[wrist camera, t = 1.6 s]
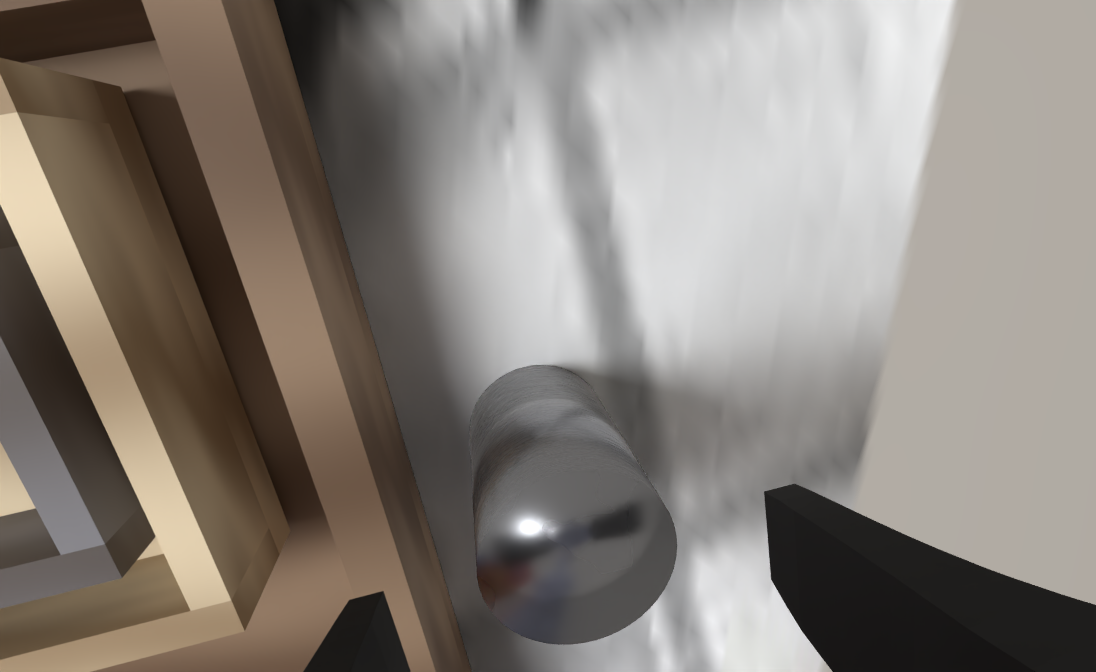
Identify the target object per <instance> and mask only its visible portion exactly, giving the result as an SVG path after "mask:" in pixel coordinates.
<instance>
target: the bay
mask: <svg viewBox="0 0 1096 672" xmlns="http://www.w3.org/2000/svg"><path fill="white" fill-rule="evenodd" d="M0 58H4V59H8V60H12V61H16V62H20V63H24V64H29V65H33V66H37V67H41V68H45V69H49V70H54V71H58V72H62V73H66V74H70V75H74V76H79V77H83V78H87V79H91V80H95V81H99V82H104V83H108V84H112V85H116V86H120V87H121V88H122V91H123V94H124V96H125V99H126V102H127V104H128V107H129V109H130V112H131V115H132V117H133V120H134V122H135V125H136V128H137V130H138V133H139V136H140V138H141V141H142V143H143V146H144V149H145V151H146V154H147V156H148V159H149V162H150V164H151V167H152V170H153V172H154V175H155V177H156V180H157V183H158V185H159V188H160V190H161V193H162V196H163V198H164V201H165V204H166V206H167V209H168V211H169V214H170V217H171V219H172V222H173V224H174V227H175V230H176V232H177V235H178V238H179V240H180V243H181V245H182V248H183V251H184V253H185V256H186V258H187V261H188V264H189V266H190V269H191V272H192V274H193V277H194V279H195V282H196V285H197V287H198V290H199V292H200V295H201V298H202V300H203V303H204V306H205V308H206V311H207V313H208V316H209V319H210V321H211V324H212V326H213V329H214V332H215V334H216V337H217V340H218V342H219V345H220V347H221V350H222V353H223V355H224V358H225V360H226V363H227V366H228V368H229V371H230V374H231V376H232V379H233V381H234V384H235V387H236V389H237V392H238V394H239V397H240V400H241V402H242V405H243V408H244V410H245V413H246V415H247V418H248V421H249V423H250V426H251V429H252V431H253V434H254V436H255V439H256V442H257V444H258V447H259V449H260V452H261V455H262V457H263V460H264V463H265V465H266V468H267V470H268V473H269V476H270V478H271V481H272V483H273V486H274V489H275V491H276V494H277V497H278V499H279V502H280V504H281V507H282V510H283V512H284V515H285V517H286V520H287V523H288V525H289V528H290V533H289V535H288V537H287V539H286V542H285V544H284V546H283V548H282V550H281V553H280V555H279V557H278V559H277V561H276V564H275V566H274V568H273V570H272V572H271V575H270V577H269V579H268V581H267V583H266V586H265V588H264V590H263V592H262V595H261V597H260V599H259V601H258V603H257V606H256V608H255V610H254V612H253V614H252V617H251V619H250V621H249V623H248V625H247V628H246V630H245V631H244V632H240V633H237V634H233V635H229V636H225V637H221V638H218V639H214V640H210V641H206V642H202V643H199V644H195V645H191V646H187V647H183V648H179V649H176V650H172V651H168V652H164V653H160V654H157V655H153V656H149V657H145V658H141V659H138V660H134V661H130V662H126V663H122V664H118V665H115V666H111V667H107V668H103V669H99V670H96V671H92V672H303V671H304V669H305V668H306V666H307V665H308V663H309V662H310V660H311V658H312V657H313V655H314V654H315V652H316V651H317V649H318V647H319V646H320V644H321V643H322V641H323V640H324V638H325V636H326V635H327V633H328V632H329V630H330V628H331V627H332V625H333V624H334V622H335V621H336V619H337V617H338V616H339V614H340V613H341V611H342V610H343V608H344V607H345V605H346V604H347V602H348V601H349V600H350V599H354V598H358V597H362V596H366V595H370V594H373V593H377V592H381V591H384V594H385V597H386V600H387V603H388V606H389V609H390V612H391V615H392V618H393V621H394V624H395V626H396V629H397V632H398V635H399V638H400V641H401V644H402V647H403V650H404V653H405V656H406V659H407V662H408V665H409V668H410V671H411V672H472V671H471V668H470V664H469V661H468V657H467V654H466V651H465V647H464V644H463V640H462V637H461V634H460V630H459V627H458V624H457V620H456V617H455V613H454V610H453V607H452V603H451V600H450V596H449V593H448V590H447V586H446V583H445V579H444V576H443V573H442V569H441V566H440V562H439V559H438V556H437V552H436V549H435V545H434V542H433V539H432V535H431V532H430V529H429V525H428V522H427V518H426V515H425V512H424V508H423V505H422V501H421V498H420V495H419V491H418V488H417V484H416V481H415V478H414V474H413V471H412V467H411V464H410V461H409V457H408V454H407V451H406V447H405V444H404V440H403V437H402V434H401V430H400V427H399V423H398V420H397V417H396V413H395V410H394V406H393V403H392V400H391V396H390V393H389V389H388V386H387V383H386V379H385V376H384V372H383V369H382V366H381V362H380V359H379V356H378V352H377V349H376V345H375V342H374V339H373V335H372V332H371V328H370V325H369V322H368V318H367V315H366V311H365V308H364V305H363V301H362V298H361V294H360V291H359V288H358V284H357V281H356V278H355V274H354V271H353V267H352V264H351V261H350V257H349V254H348V250H347V247H346V244H345V240H344V237H343V233H342V230H341V227H340V223H339V220H338V216H337V213H336V210H335V206H334V203H333V199H332V196H331V193H330V189H329V186H328V183H327V179H326V176H325V172H324V169H323V166H322V162H321V159H320V155H319V152H318V149H317V145H316V142H315V138H314V135H313V132H312V128H311V125H310V121H309V118H308V115H307V111H306V108H305V105H304V101H303V98H302V94H301V91H300V88H299V84H298V81H297V77H296V74H295V71H294V67H293V64H292V60H291V57H290V54H289V50H288V47H287V43H286V40H285V37H284V33H283V30H282V26H281V23H280V20H279V16H278V13H277V10H276V6H275V3H274V0H0Z"/></svg>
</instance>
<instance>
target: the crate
mask: <svg viewBox="0 0 1096 672" xmlns="http://www.w3.org/2000/svg"><path fill="white" fill-rule="evenodd" d="M289 533H290V528H289V525H288V523H287V520H286V517H285V515H284V512H283V510H282V507H281V504H280V502H279V499H278V497H277V494H276V491H275V489H274V486H273V483H272V481H271V478H270V476H269V473H268V470H267V468H266V465H265V463H264V460H263V457H262V455H261V452H260V449H259V447H258V444H257V442H256V439H255V436H254V434H253V431H252V429H251V426H250V423H249V421H248V418H247V415H246V413H245V410H244V408H243V405H242V402H241V400H240V397H239V394H238V392H237V389H236V387H235V384H234V381H233V379H232V376H231V374H230V371H229V368H228V366H227V363H226V360H225V358H224V355H223V353H222V350H221V347H220V345H219V342H218V340H217V337H216V334H215V332H214V329H213V326H212V324H211V321H210V319H209V316H208V313H207V311H206V308H205V306H204V303H203V300H202V298H201V295H200V292H199V290H198V287H197V285H196V282H195V279H194V277H193V274H192V272H191V269H190V266H189V264H188V261H187V258H186V256H185V253H184V251H183V248H182V245H181V243H180V240H179V238H178V235H177V232H176V230H175V227H174V224H173V222H172V219H171V217H170V214H169V211H168V209H167V206H166V204H165V201H164V198H163V196H162V193H161V190H160V188H159V185H158V183H157V180H156V177H155V175H154V172H153V170H152V167H151V164H150V162H149V159H148V156H147V154H146V151H145V149H144V146H143V143H142V141H141V138H140V136H139V133H138V130H137V128H136V125H135V122H134V120H133V117H132V115H131V112H130V109H129V107H128V104H127V102H126V99H125V96H124V94H123V91H122V88H121V87H120V86H116V85H112V84H108V83H104V82H99V81H95V80H91V79H87V78H83V77H79V76H74V75H70V74H66V73H62V72H58V71H54V70H49V69H45V68H41V67H37V66H33V65H29V64H24V63H20V62H16V61H12V60H8V59H4V58H0V672H92V671H96V670H99V669H103V668H107V667H111V666H115V665H118V664H122V663H126V662H130V661H134V660H138V659H141V658H145V657H149V656H153V655H157V654H160V653H164V652H168V651H172V650H176V649H179V648H183V647H187V646H191V645H195V644H199V643H202V642H206V641H210V640H214V639H218V638H221V637H225V636H229V635H233V634H237V633H240V632H244V631H245V630H246V628H247V625H248V623H249V621H250V619H251V617H252V614H253V612H254V610H255V608H256V606H257V603H258V601H259V599H260V597H261V595H262V592H263V590H264V588H265V586H266V583H267V581H268V579H269V577H270V575H271V572H272V570H273V568H274V566H275V564H276V561H277V559H278V557H279V555H280V553H281V550H282V548H283V546H284V544H285V542H286V539H287V537H288V535H289Z"/></svg>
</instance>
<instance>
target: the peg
mask: <svg viewBox="0 0 1096 672" xmlns="http://www.w3.org/2000/svg"><path fill="white" fill-rule="evenodd" d="M469 433H470V453H471V472H472V491H473V510H474V528H475V547H476V566H477V579H478V584H479V588H480V591H481V594H482V597H483V599H484V601H485V603H486V604H487V606H488V608H489V609H490V611H491V612H492V613H493V614H494V616H495V617H496V618H497V619H498V620H499V621H500V622H501V623H503V624H504V625H505V626H506V627H508V628H509V629H511V630H512V631H514V632H516V633H518V634H520V635H521V636H523V637H526V638H529V639H532V640H535V641H539V642H543V643H550V644H578V643H585V642H590V641H594V640H598V639H600V638H603V637H606V636H609V635H611V634H613V633H616V632H618V631H620V630H621V629H623V628H625V627H627V626H628V625H630V624H631V623H633V622H634V621H635V620H637V619H638V618H640V617H641V616H642V615H643V614H644V613H645V612H646V611H647V610H648V609H649V608H650V607H651V606H652V605H653V604H654V603H655V602H656V600H657V599H658V598H659V596H660V595H661V593H662V592H663V591H664V589H665V587H666V585H667V583H668V581H669V579H670V577H671V574H672V571H673V569H674V564H675V560H676V553H677V538H676V532H675V527H674V523H673V521H672V518H671V516H670V513H669V512H668V510H667V508H666V507H665V505H664V503H663V502H662V500H661V498H660V497H659V495H658V494H657V492H656V490H655V489H654V487H653V486H652V484H651V482H650V481H649V479H648V477H647V476H646V474H645V473H644V471H643V469H642V468H641V466H640V465H639V463H638V461H637V460H636V458H635V457H634V455H633V453H632V452H631V450H630V448H629V447H628V445H627V444H626V442H625V440H624V439H623V437H622V436H621V434H620V432H619V431H618V429H617V427H616V426H615V424H614V423H613V421H612V419H611V418H610V416H609V415H608V413H607V411H606V410H605V408H604V406H603V405H602V403H601V402H600V400H599V398H598V397H597V395H596V394H595V392H594V391H593V389H592V388H591V387H590V386H589V385H588V384H587V383H586V382H585V381H584V380H583V379H582V378H580V377H579V376H577V375H576V374H574V373H572V372H570V371H568V370H565V369H562V368H559V367H555V366H547V365H534V366H528V367H523V368H520V369H516V370H514V371H511V372H509V373H507V374H505V375H504V376H502V377H500V378H499V379H497V380H496V381H495V382H494V383H492V384H491V385H490V386H489V387H488V388H487V389H486V390H485V392H484V393H483V394H482V395H481V397H480V398H479V400H478V402H477V403H476V405H475V408H474V410H473V413H472V416H471V420H470V428H469Z"/></svg>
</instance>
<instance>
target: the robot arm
mask: <svg viewBox="0 0 1096 672" xmlns="http://www.w3.org/2000/svg"><path fill="white" fill-rule="evenodd" d="M764 495H765V508H766V520H767V532H768V545H769V557H770V570H771V580H772V582H773V583H774V585H775V587H776V589H777V590H778V592H779V594H780V595H781V597H782V599H783V601H784V602H785V604H786V606H787V608H788V609H789V611H790V612H791V614H792V616H793V617H794V619H795V621H796V622H797V624H798V625H799V627H800V629H801V630H802V632H803V633H804V634H805V636H806V637H807V638H808V640H809V641H810V642H811V644H812V645H813V646H814V648H815V649H816V650H817V652H818V653H819V654H820V656H821V657H822V658H823V660H824V661H825V662H826V663H827V665H828V666H829V667H830V669H831V670H832V671H833V672H1096V605H1094V604H1091V603H1087V602H1084V601H1080V600H1077V599H1074V598H1071V597H1068V596H1065V595H1061V594H1058V593H1055V592H1052V591H1049V590H1046V589H1043V588H1041V587H1038V586H1035V585H1032V584H1029V583H1026V582H1023V581H1020V580H1017V579H1014V578H1011V577H1008V576H1005V575H1003V574H1000V573H997V572H995V571H992V570H989V569H986V568H984V567H981V566H979V565H976V564H974V563H971V562H969V561H967V560H964V559H962V558H959V557H956V556H954V555H952V554H949V553H947V552H944V551H942V550H939V549H937V548H935V547H932V546H930V545H928V544H925V543H923V542H920V541H918V540H916V539H914V538H911V537H909V536H907V535H904V534H902V533H900V532H898V531H896V530H894V529H891V528H889V527H887V526H885V525H883V524H880V523H878V522H876V521H874V520H872V519H870V518H867V517H865V516H863V515H861V514H859V513H857V512H855V511H853V510H851V509H848V508H846V507H844V506H842V505H840V504H838V503H836V502H834V501H832V500H829V499H827V498H825V497H823V496H821V495H819V494H817V493H815V492H812V491H810V490H808V489H806V488H803V487H801V486H799V485H796V484H792V485H788V486H784V487H780V488H777V489H773V490H769V491H765V492H764ZM303 672H411V671H410V668H409V665H408V662H407V659H406V656H405V653H404V650H403V647H402V644H401V641H400V638H399V635H398V632H397V629H396V626H395V624H394V621H393V618H392V615H391V612H390V609H389V606H388V603H387V600H386V597H385V594H384V591H381V592H377V593H373V594H370V595H366V596H362V597H358V598H354V599H350V600H349V601H348V602H347V604H346V605H345V607H344V608H343V610H342V611H341V613H340V614H339V616H338V617H337V619H336V621H335V622H334V624H333V625H332V627H331V628H330V630H329V632H328V633H327V635H326V636H325V638H324V640H323V641H322V643H321V644H320V646H319V647H318V649H317V651H316V652H315V654H314V655H313V657H312V658H311V660H310V662H309V663H308V665H307V666H306V668H305V669H304V671H303Z"/></svg>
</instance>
